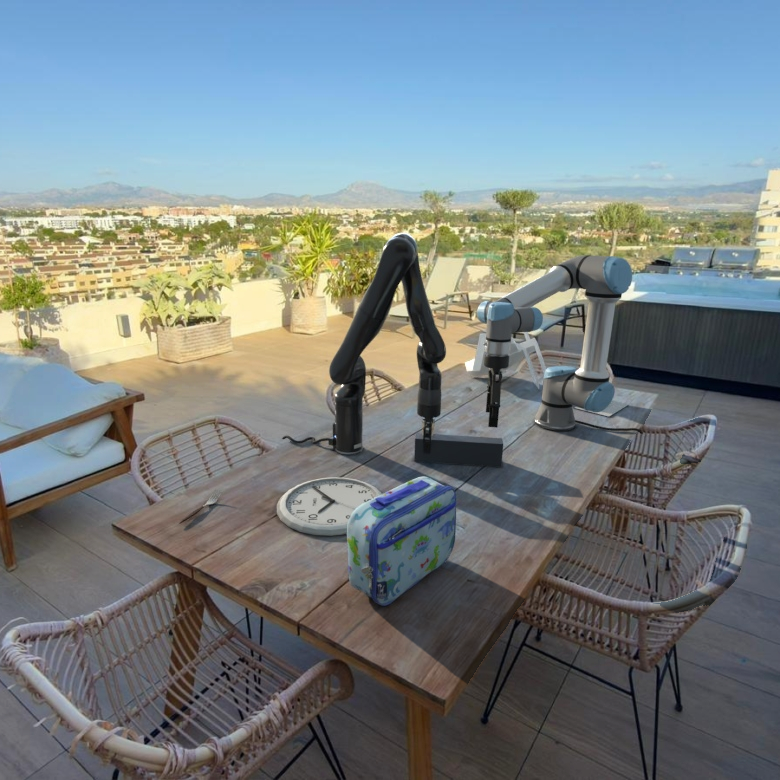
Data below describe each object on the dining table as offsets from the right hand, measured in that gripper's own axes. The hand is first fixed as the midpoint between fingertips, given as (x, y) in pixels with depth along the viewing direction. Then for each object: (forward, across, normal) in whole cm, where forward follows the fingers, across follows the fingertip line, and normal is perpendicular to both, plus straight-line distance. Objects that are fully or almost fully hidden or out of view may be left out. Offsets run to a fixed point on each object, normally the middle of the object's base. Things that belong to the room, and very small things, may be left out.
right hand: (491, 419), depth 166 cm
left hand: (+12, 0, -20) cm, 23 cm away
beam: (+15, 0, -10) cm, 18 cm away
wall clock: (+16, +34, -44) cm, 57 cm away
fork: (+16, +42, -78) cm, 90 cm away
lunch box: (+16, +62, -22) cm, 67 cm away
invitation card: (+15, -65, +52) cm, 85 cm away
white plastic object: (+15, -94, +13) cm, 96 cm away
